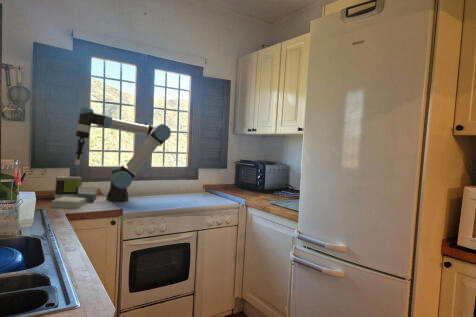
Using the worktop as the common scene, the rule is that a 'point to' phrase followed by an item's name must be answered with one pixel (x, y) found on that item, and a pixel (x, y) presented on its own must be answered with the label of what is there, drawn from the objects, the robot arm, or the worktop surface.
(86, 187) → the block
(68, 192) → the tea box
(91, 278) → the worktop surface
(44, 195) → the worktop surface
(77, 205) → the stand
